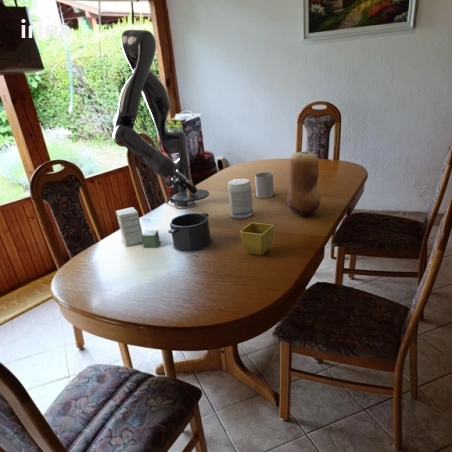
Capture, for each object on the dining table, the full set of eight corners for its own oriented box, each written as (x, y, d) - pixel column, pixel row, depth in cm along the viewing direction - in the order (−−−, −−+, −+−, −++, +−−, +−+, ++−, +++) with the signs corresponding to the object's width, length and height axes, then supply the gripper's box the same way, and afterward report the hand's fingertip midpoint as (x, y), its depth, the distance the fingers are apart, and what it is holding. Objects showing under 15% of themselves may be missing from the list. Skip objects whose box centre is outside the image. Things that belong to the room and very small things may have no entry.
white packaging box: (122, 240, 162) (115, 210, 156) (140, 236, 164) (133, 206, 158) (126, 246, 156) (118, 215, 150) (144, 242, 158) (137, 211, 152)
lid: (165, 200, 163) (162, 184, 160) (190, 190, 173) (188, 174, 169) (192, 205, 155) (189, 188, 151) (216, 194, 164) (215, 177, 161)
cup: (254, 197, 193) (252, 177, 188) (259, 192, 199) (258, 172, 194) (270, 198, 190) (270, 177, 184) (275, 193, 196) (275, 172, 191)
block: (144, 247, 154) (141, 235, 151) (148, 242, 158) (145, 230, 155) (156, 247, 153) (153, 235, 150) (160, 242, 157) (157, 230, 154)
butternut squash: (326, 212, 167) (328, 149, 154) (308, 222, 159) (309, 157, 146) (298, 207, 175) (298, 147, 162) (280, 216, 167) (278, 155, 154)
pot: (161, 250, 150) (156, 226, 145) (195, 231, 162) (192, 209, 157) (188, 257, 142) (184, 232, 137) (222, 237, 154) (219, 214, 149)
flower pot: (263, 259, 135) (262, 234, 130) (241, 255, 139) (239, 231, 134) (275, 249, 141) (274, 224, 136) (253, 245, 145) (251, 222, 141)
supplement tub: (257, 214, 172) (255, 180, 165) (239, 220, 168) (236, 186, 161) (244, 209, 179) (241, 176, 172) (226, 215, 175) (223, 181, 168)
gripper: (166, 159, 148) (203, 187, 156) (165, 152, 160) (199, 179, 168) (155, 175, 150) (191, 203, 158) (154, 167, 162) (188, 193, 170)
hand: (195, 190), depth 163 cm, fingers closed on lid, 2 cm apart
